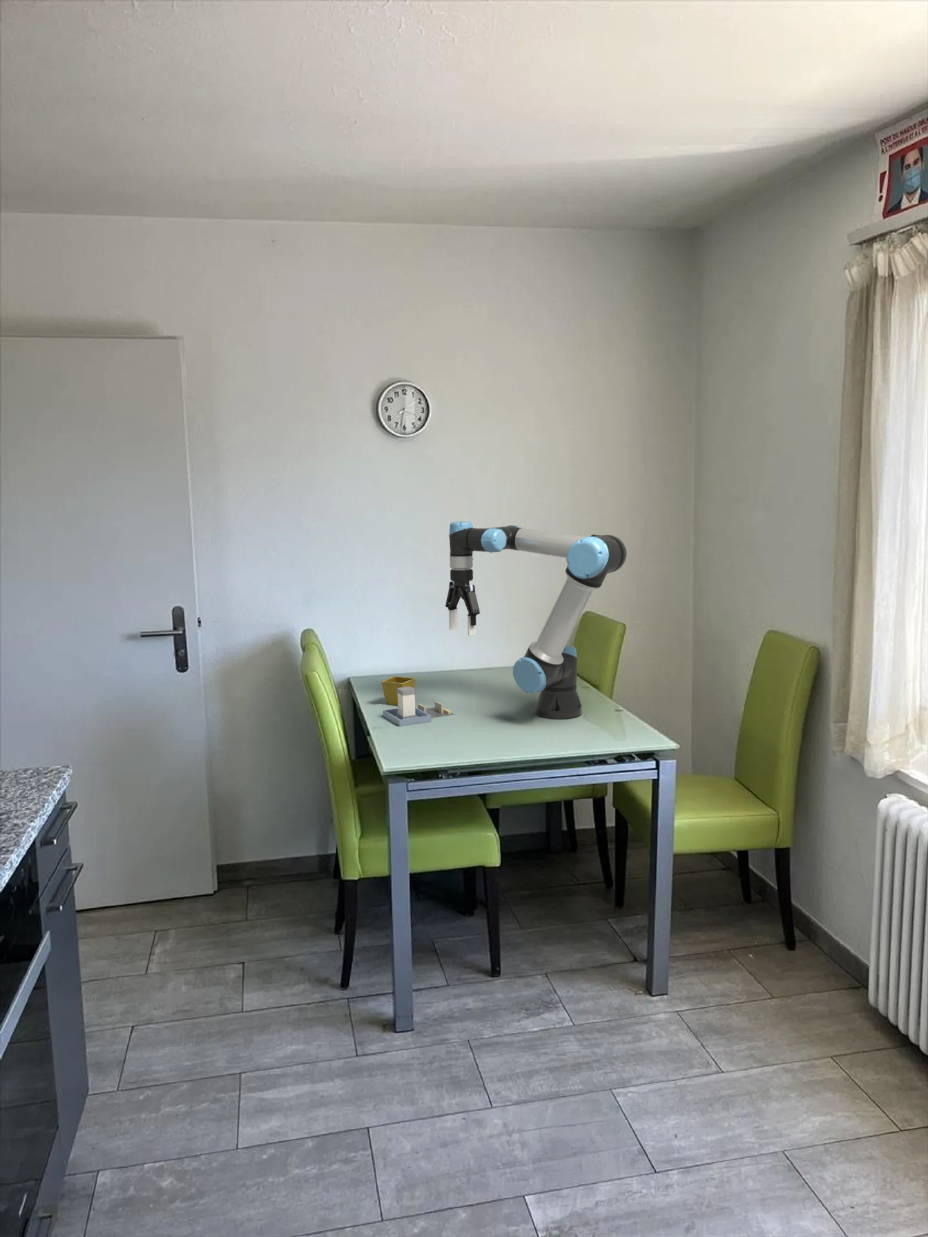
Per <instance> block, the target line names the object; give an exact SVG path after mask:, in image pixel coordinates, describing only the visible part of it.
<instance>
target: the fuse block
mask: <svg viewBox="0 0 928 1237" xmlns="http://www.w3.org/2000/svg"><path fill="white" fill-rule="evenodd" d="M417 708H418V709H420V710H422V711H423V712H425V713H427V714H429V715H431V719H435V718H441V717H448V716H449V717H450V716H453V715H455V713H453V712H452V710H450V709H448V708H446V707H444V703H442V702H440V701H437V700H435V701H434V707H427V706H426V705H423V704H422V703H417Z"/></svg>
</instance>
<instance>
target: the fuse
mask: <svg viewBox="0 0 928 1237" xmlns="http://www.w3.org/2000/svg"><path fill="white" fill-rule="evenodd" d="M397 693H398V706H397V708H398V718H399V719H400V720H402V719H408V718H415V717H416V715H415V707H416V688H415V689H414V688H412V687H402V688H397Z"/></svg>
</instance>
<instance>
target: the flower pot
mask: <svg viewBox="0 0 928 1237" xmlns="http://www.w3.org/2000/svg"><path fill="white" fill-rule="evenodd" d="M381 686H382V690H383V696H384V698H385V700H386V702H387V703H388V705H390V706H397V707H398V693H397V688H402V687H412V688H414V689H415V690H416V687H415V686H416V678H414V677H407V676H406V677H403V676H392V677H389V678H387V679H385V680H382V681H381Z"/></svg>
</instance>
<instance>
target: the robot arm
mask: <svg viewBox="0 0 928 1237" xmlns="http://www.w3.org/2000/svg"><path fill="white" fill-rule="evenodd" d="M448 538H449V550H450V551H449V567H450V568H451V569H450V571H449V574H450V576H449V577H450V581H449V583H448V584H449V585H448V593H447V597H446V601H445V605H444V606H445V608H447V610H448V621H449V622H448V623H449V624H448V625H449V627H448V629H449V630H451V631H453V630H458V604H459V602H460V599H462V600H463V603H464V605H465V607H466V610H467V613H468V614H467V615H466V616H467V635H468V637H469V636H477V616H478V615H480V613H481V610H480V606H479V603H478V598H477V593H476V586H475V584H470V582H471V581H473V580H474V570H473V569H472V568H473V563H474V562H473V561H474V557H473V552H484V553H491V554H492V553H500V552H502V551H503V550H511V551H512V550H513V551H519V552H520V551H521V552H526V553H527V552H528V553H534V554H539V555H545V556H552V557H557V558H558V557H560V558H564V559H565V560H566V562H567V564H566V565H567V566H566V568H565V575H566V580H565V582H564V584H563V587H562V589H561V591H560V593H559V595H558V596H557V599H556V601H555V603H554V604H553V607H552V609H551V611H550V613H549V615H548V618H547V620H546V621H545V623H544V626H543V627H542V630H541V632H540V634H539V636H538V638H537V641H535V642H531V643H530V644H529V646H528V648H527V650H526V652H525V654H524V656H522V657H520V658H519V659H517V660H516V661H515V662H514V665H513V668H512V677H513V678H514V683H515V684H516V685H517V687H518V688H519V689H520V690H521V691H523V692H525V693H529V694H535V693H540V694H539V696H538V699H537V703H536V706H535V713H536V716H539V717H542V718H547V719H553V720H555V719H557V720H562V719H563V720H566V719H568V720H569V719H574V718H579V717H580V716H581V715H583V705H582V704H581V700H580V697H579V694H578V691H577V686H578V684H577V681H578V680H577V679H578V677H577V676H578V668H577V664H578V654H577V649H576V647H575V646H573V645H568V642H569V639H570V638H571V636H572V633H573V631H574V629H575V628H576V625H577V624H578V622H579V619H580V617H581V616H582V613H583V612H584V610H585V608H586V605H587V604H588V602H589V599H590V598H591V595H592V593H593V591H594V590H598V589H600V588H601V586H602V585H603V583H604V581H605V578H606V576H607V575H608V574H611V573H614V572H617V571H618V570H620V569H621V568H622V567H623V565H624V564H625V563H626V560H627V554H628V553H627V548H626V546H625V545H626V544H624V542H623V541H622V540H621V539H620V538H618V537H617V536H615V535H611V534H604V535H603V534H602V535H601V534H593V533H592V534H590V535H588V536H583V535H575V534H570V533H569V534H568V533H564V532H563V533H562V532H555V531H554V532H553V531H547V530H546V531H545V530H539V529H534V528H525V527H520V525H514V524H513V525H506V526H497V527H495V526H494V527H484V528H482V527H481V528H480V527H479V528H476V527H473V523H472V522H471V521H452V522H450V524H449V535H448Z"/></svg>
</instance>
